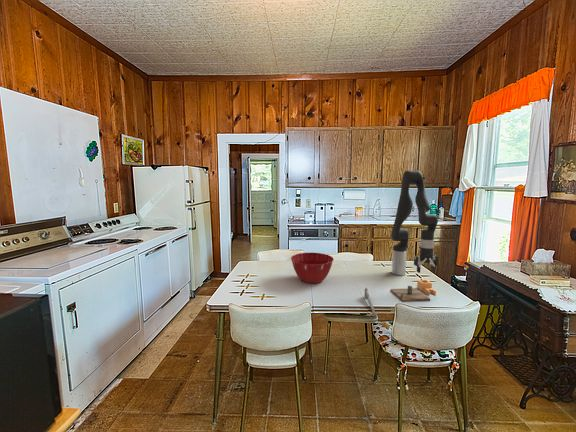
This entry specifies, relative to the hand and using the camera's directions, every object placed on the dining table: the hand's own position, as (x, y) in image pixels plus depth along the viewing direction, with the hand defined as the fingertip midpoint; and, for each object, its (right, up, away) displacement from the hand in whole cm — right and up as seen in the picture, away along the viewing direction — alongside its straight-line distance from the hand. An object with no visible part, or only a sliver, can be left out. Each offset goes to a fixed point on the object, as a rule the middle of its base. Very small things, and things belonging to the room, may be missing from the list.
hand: (425, 272), depth 183 cm
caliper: (-40, -14, -21) cm, 47 cm away
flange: (0, -11, -1) cm, 11 cm away
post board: (-13, -12, -9) cm, 20 cm away
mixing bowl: (-69, -9, +18) cm, 71 cm away
